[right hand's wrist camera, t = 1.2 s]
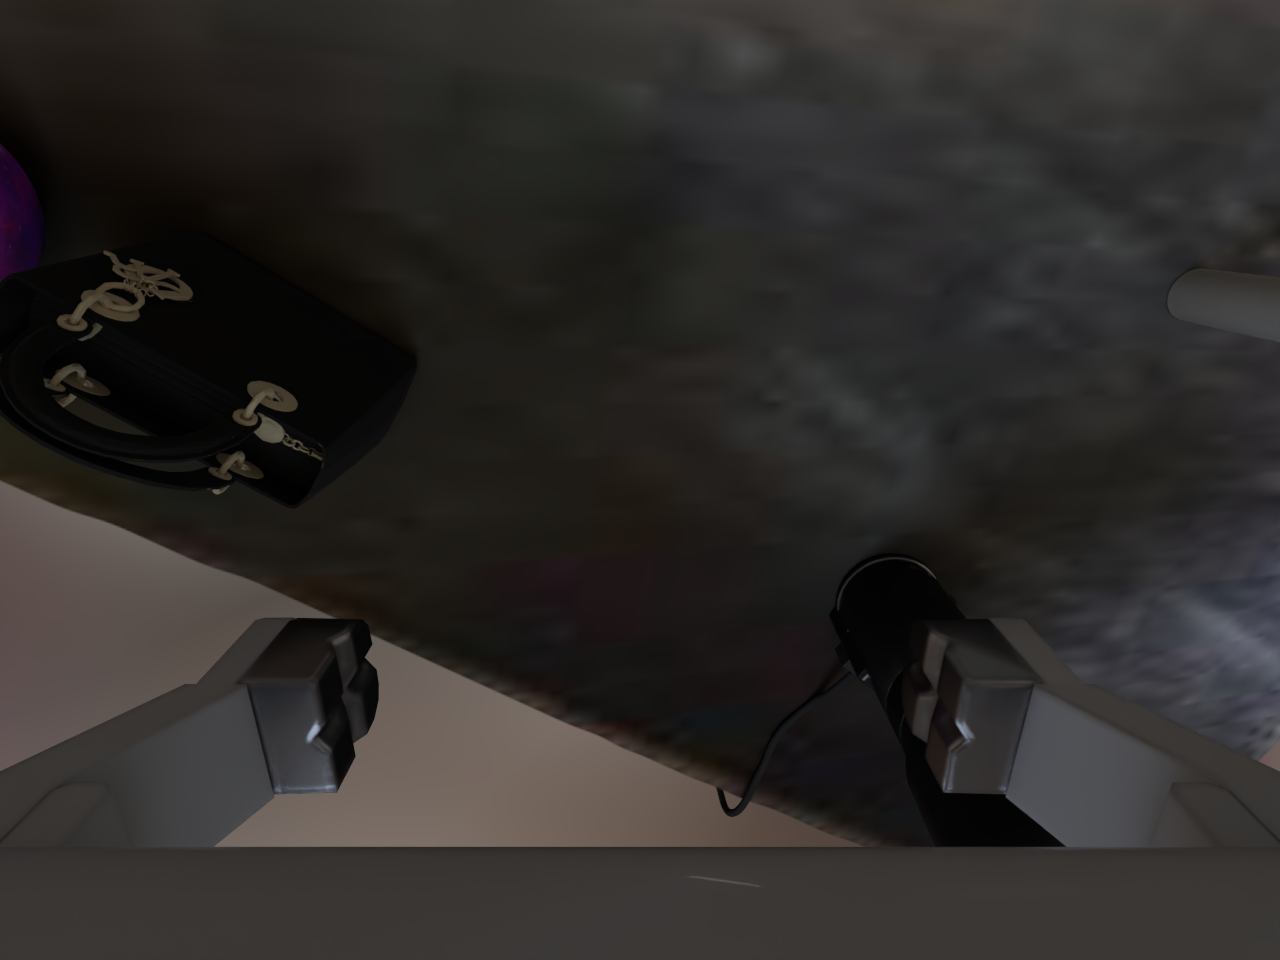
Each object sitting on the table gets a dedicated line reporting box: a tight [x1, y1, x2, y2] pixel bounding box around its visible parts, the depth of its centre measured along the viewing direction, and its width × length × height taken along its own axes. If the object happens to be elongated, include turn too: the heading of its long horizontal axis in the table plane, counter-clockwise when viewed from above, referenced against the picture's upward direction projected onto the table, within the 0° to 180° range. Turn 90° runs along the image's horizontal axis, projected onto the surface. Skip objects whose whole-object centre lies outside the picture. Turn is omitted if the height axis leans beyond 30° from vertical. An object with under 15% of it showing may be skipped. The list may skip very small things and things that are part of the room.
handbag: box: [0, 233, 417, 509], centre depth 45 cm, size 21×9×25 cm, turn 57°
